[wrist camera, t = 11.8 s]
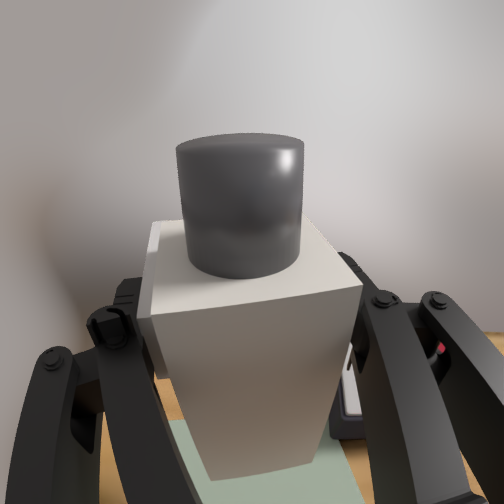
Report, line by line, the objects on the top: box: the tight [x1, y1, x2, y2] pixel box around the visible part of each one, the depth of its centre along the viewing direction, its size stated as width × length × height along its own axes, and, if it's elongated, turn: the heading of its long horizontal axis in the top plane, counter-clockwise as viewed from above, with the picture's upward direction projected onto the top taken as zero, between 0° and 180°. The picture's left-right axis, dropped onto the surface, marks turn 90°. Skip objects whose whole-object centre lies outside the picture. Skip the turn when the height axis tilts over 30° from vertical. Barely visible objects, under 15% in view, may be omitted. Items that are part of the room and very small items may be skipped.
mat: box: [168, 416, 365, 504], centre depth 20 cm, size 16×16×1 cm
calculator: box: [329, 342, 445, 439], centre depth 27 cm, size 11×4×15 cm
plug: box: [151, 133, 363, 481], centre depth 11 cm, size 5×5×14 cm
